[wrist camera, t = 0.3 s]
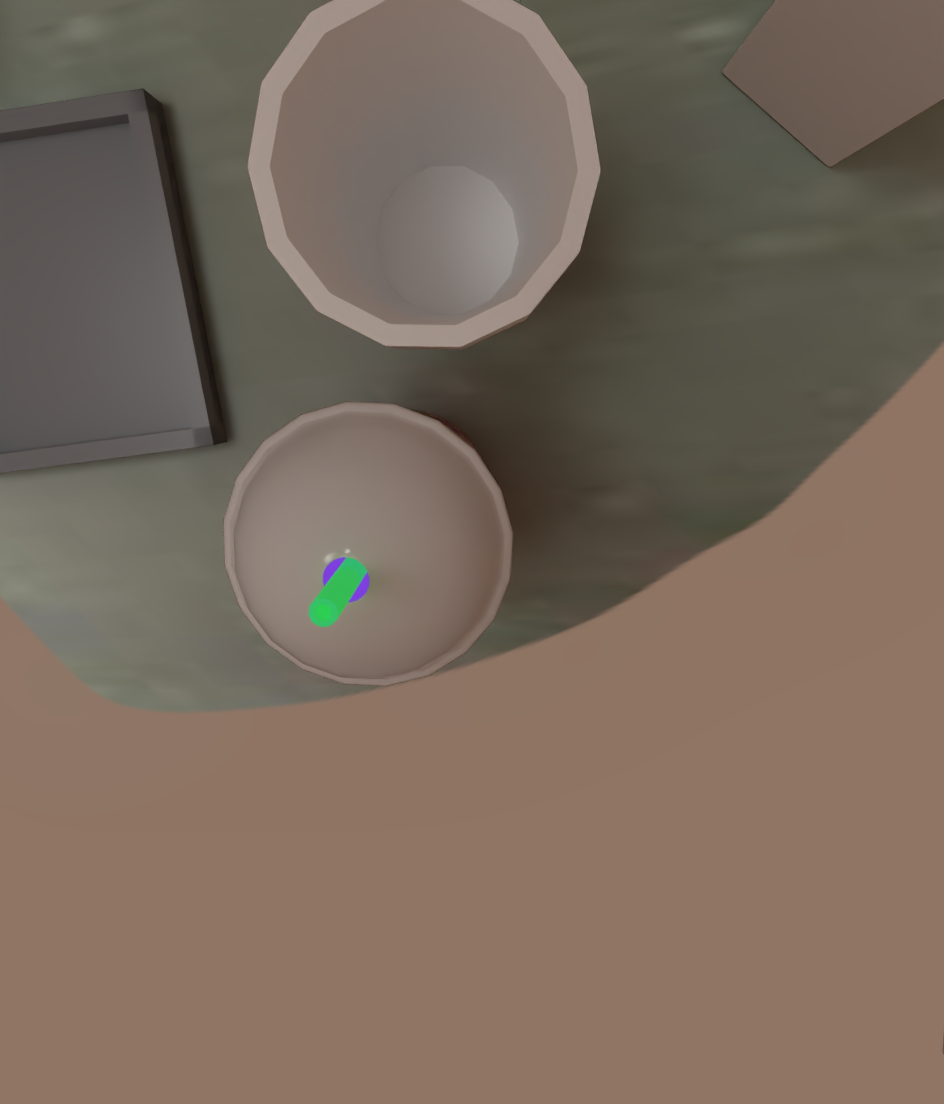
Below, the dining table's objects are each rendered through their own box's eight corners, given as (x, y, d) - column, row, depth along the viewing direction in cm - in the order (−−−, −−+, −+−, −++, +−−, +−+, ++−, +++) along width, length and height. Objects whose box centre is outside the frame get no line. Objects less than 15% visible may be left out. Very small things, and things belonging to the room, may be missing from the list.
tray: (-94, 142, 34) (-126, 130, 32) (161, 103, 33) (143, 88, 32) (-9, 472, 37) (-34, 477, 35) (226, 441, 36) (213, 444, 35)
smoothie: (434, 353, 35) (366, 329, 16) (540, 508, 37) (596, 662, 17) (283, 460, 37) (47, 562, 17) (391, 608, 38) (286, 857, 18)
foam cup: (395, 392, 36) (343, 403, 23) (299, 188, 34) (185, 79, 21) (593, 297, 35) (653, 254, 22) (505, 83, 33) (514, -98, 20)
